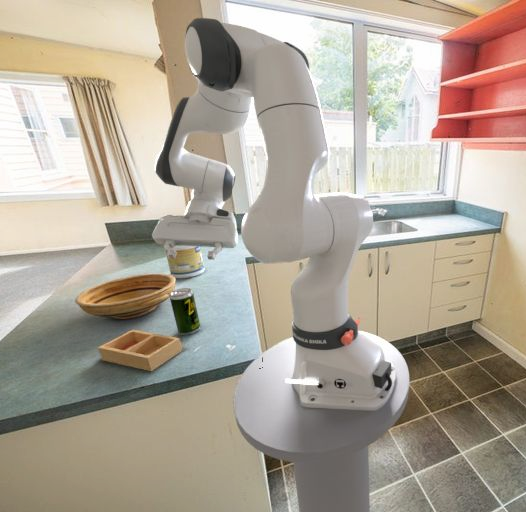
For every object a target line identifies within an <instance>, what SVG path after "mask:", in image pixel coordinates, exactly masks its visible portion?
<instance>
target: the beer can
mask: <svg viewBox="0 0 526 512" xmlns="http://www.w3.org/2000/svg"><path fill="white" fill-rule="evenodd" d="M169 301H170V305H171V308H172V313H173V317H174V320H175V324H176V329H177V331H178V333H179V334H180V335H182V336H188V335H193V334H194V333H197V332H198V331H200V328H201V321H200V318H199V314H198V307H197V305H196V304H197V303H196V299H195V295H194V292H193V291H192V288H189V287H184V288H182V287H181V288H178V289H174V291H173V292H171V293H170V297H169Z"/></svg>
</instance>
